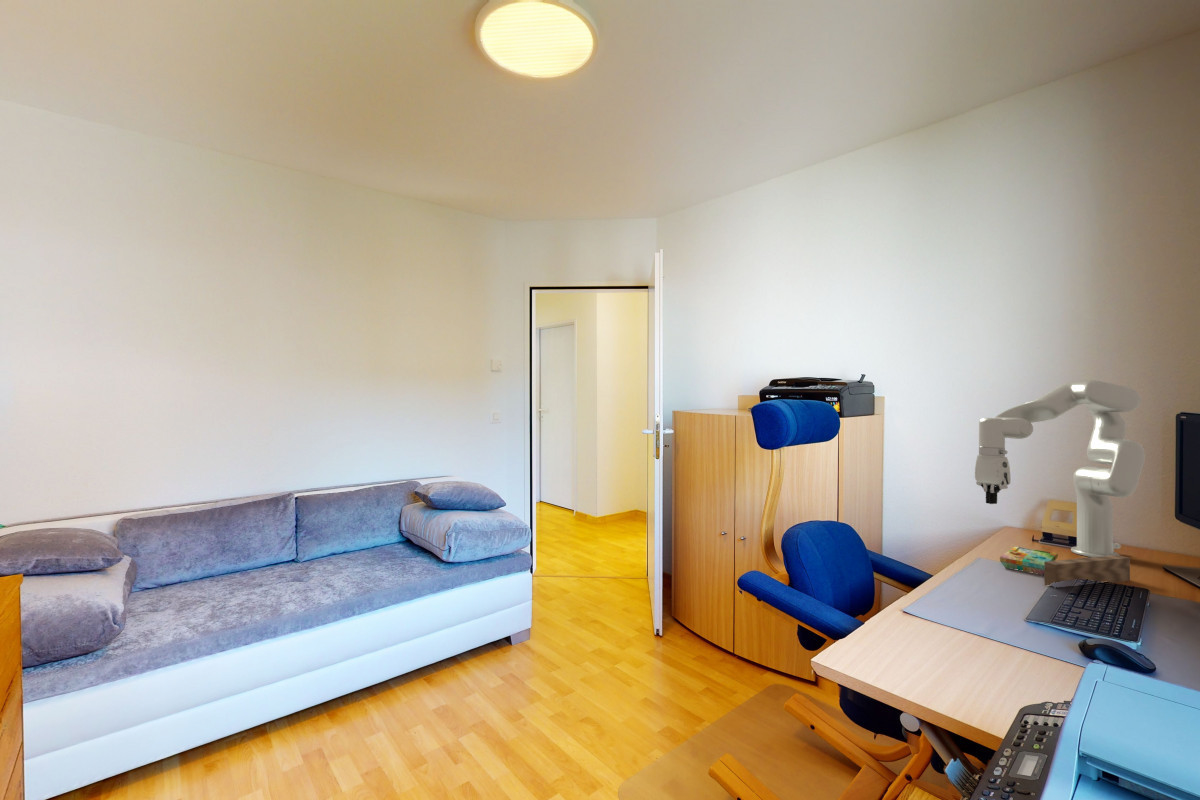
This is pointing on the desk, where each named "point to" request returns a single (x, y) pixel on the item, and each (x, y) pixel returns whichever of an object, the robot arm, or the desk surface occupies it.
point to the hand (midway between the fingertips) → (991, 503)
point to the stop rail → (1088, 569)
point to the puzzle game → (1027, 559)
